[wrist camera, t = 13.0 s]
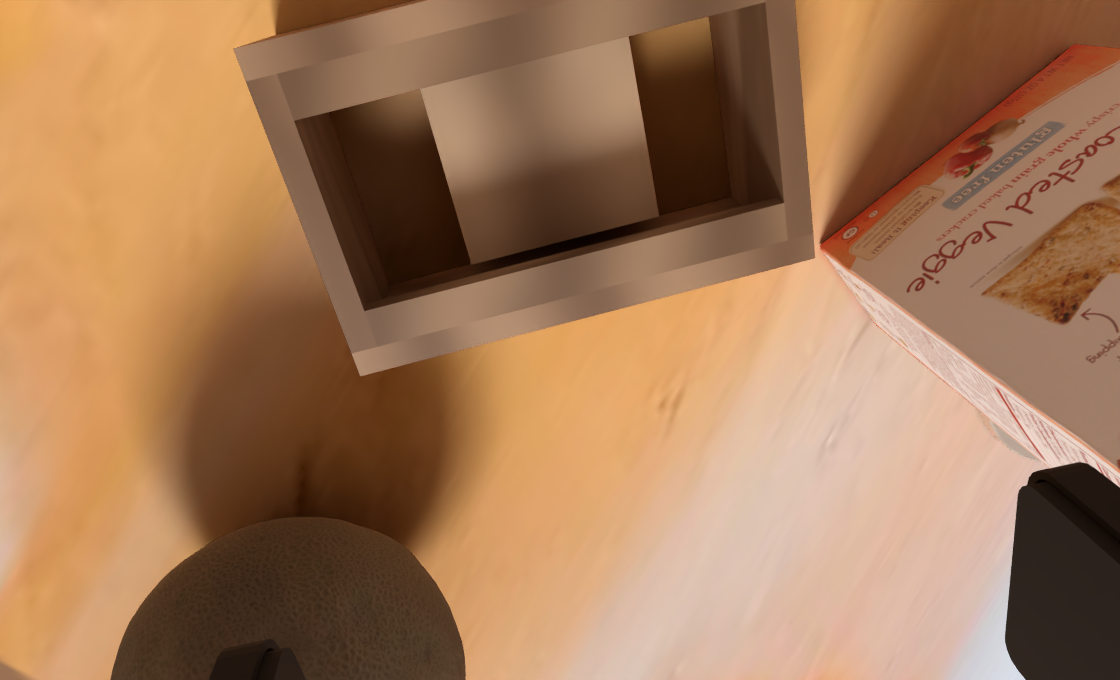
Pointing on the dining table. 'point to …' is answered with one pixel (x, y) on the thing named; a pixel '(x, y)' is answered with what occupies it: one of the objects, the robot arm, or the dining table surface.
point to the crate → (534, 161)
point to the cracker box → (1012, 262)
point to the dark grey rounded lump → (297, 607)
